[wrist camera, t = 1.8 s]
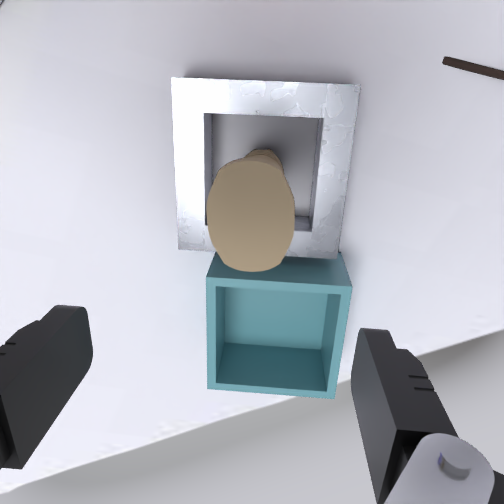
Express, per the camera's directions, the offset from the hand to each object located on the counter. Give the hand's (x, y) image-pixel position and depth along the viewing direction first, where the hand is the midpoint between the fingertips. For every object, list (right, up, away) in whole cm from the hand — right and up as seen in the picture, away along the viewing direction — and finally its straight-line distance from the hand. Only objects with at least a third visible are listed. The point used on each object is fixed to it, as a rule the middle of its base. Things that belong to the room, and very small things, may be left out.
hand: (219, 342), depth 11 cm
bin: (+3, -2, +29) cm, 30 cm away
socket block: (+2, +10, +24) cm, 26 cm away
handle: (+2, +11, +24) cm, 26 cm away
